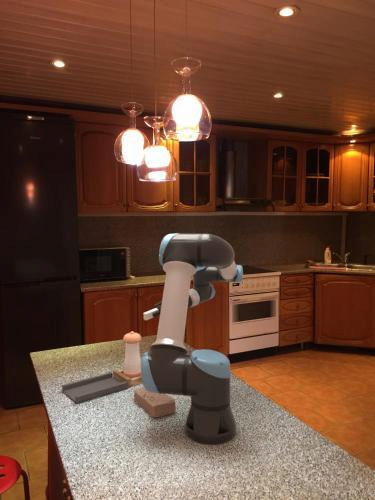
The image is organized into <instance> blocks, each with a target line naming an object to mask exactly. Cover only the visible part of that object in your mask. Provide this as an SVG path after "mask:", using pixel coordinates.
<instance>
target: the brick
mask: <svg viewBox="0 0 375 500" xmlns="http://www.w3.org/2000/svg"><path fill="white" fill-rule="evenodd" d="M133 399H134V401H135V403H137V404H138V405H139V406H140V407H141V408H142V409H143V410H145V412H146V413H148V415H149V416H151V417H152V418H161V417H163V416H168V415H170V414H174V413H176V401H175V399H174V398H173V397H172V396H170V394H162V393H161V394H158V393H153V392H149V391H147V390H146V389H145V388H144V386H140V387H136V388H134V390H133Z"/></svg>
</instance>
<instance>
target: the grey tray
mask: <svg viewBox="0 0 375 500" xmlns="http://www.w3.org/2000/svg"><path fill="white" fill-rule="evenodd" d="M128 388H129V387H128V382H122V383H121V382H119V381H118V380H116V379H114V378H113V371H111V372H106V373H103V374H98V375H94V376H91V377H88V378H83V379H80V380H77V381H73V382H69V383H65V384H62V385H61V389H62V390H61V392H62V393H63V394H65V395H66V396H67V397H68V398H69V399H70V400H71V401H73V402H74V403H75V404H76V405H78V404H79V405H80V404H82V403H85V402H90V401H92V400H96V399H98V398H99V399H100V398H103V397H105V396H108V395H111V394H115V393H118V392H121V391H124V390H128Z"/></svg>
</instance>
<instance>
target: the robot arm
mask: <svg viewBox="0 0 375 500" xmlns="http://www.w3.org/2000/svg"><path fill="white" fill-rule="evenodd" d="M158 252H159V254H158V260H159V264H160V266H162V270H163V271H164V272H165V281H164V287H163V294H162V299H161V300H160V301H159V302H157V303H155V304H153V305H152V309H150V310H148V311H145V312H143V320H144V321H148V320H151V319H153V318H156V317H159V321H158V326H157V333H156V334H157V335H156V340H155V342H152V344H151V345H150V348H149V351H146V352H144V353H143V354H142V357H141V378H142V383H141V384H142V385H143V386H144V388H145V389H146V390H147V391H149V392H153V393H158V394H161V393H162V394H166V395H176V396H183V397H185V396H186V397H190V408H189V409H188V413H187V416H186V419H185V423H184V424H185V425H184V427H185V428H184V429H185V434H186V436H188V438H189V439H191V440H193V441H195V442H198V443H201V444H207V445H208V444H209V445H217V444H219V445H220V444H222V443H226V442H228V441H230V440H232V439H233V438H234V437H235V436H236V433H237V423H236V420H235V417H234V416H235V415H234V413H233V410H232V407H231V376H232V372H231V363H230V359H229V357H227V356H226V355H225V354H223V353H222V352H219V351H216V350H213V349H195V350H193V351H192V352H191V354H190V355H188V349H187V347H186V346H185V345H184V341H185V332H186V331H185V330H186V324H187V317H188V316H187V314H188V309H190V308H193V307H196V306H198V305H200V304H202V303H205V302H207V301H209V300H212V299H213V298H214V297H215V294H216V290H215V288H214V287H215V286H214V285H213V284H211V282H217V283H218V282H223V283H225V282H226V283H241V282H243V277H244V270H243V266H242V265H241V264H236V262H235V257H236V256H235V250H234V248H233V247H232V245H231V244H230V243H229V242H227V240H225V239H223V238H222V237H220V236H217V235H215V234H212V233H179V232H176V233H169V234H166V235H165V236H164V237H163V238H162V240H161V243H160V246H159V251H158ZM191 279H192V280H193V285H192V286H193V287H192V288H191V281H192V280H191ZM143 386H142V387H143Z"/></svg>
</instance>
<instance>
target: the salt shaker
mask: <svg viewBox="0 0 375 500" xmlns="http://www.w3.org/2000/svg"><path fill="white" fill-rule="evenodd" d="M122 340H123V342H124V345H125V351H124V353H125V354H124V360H123V368H124V371H123V374H124V375H126V376H127V377H129V378H131V379H132V378H135V377H139V376H141V361H142V358H141V353H140V342H141V341H142V336H141V334H140V333H138V332H134V331H130V332H128V333H126V334H125V335H123V338H122Z"/></svg>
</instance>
